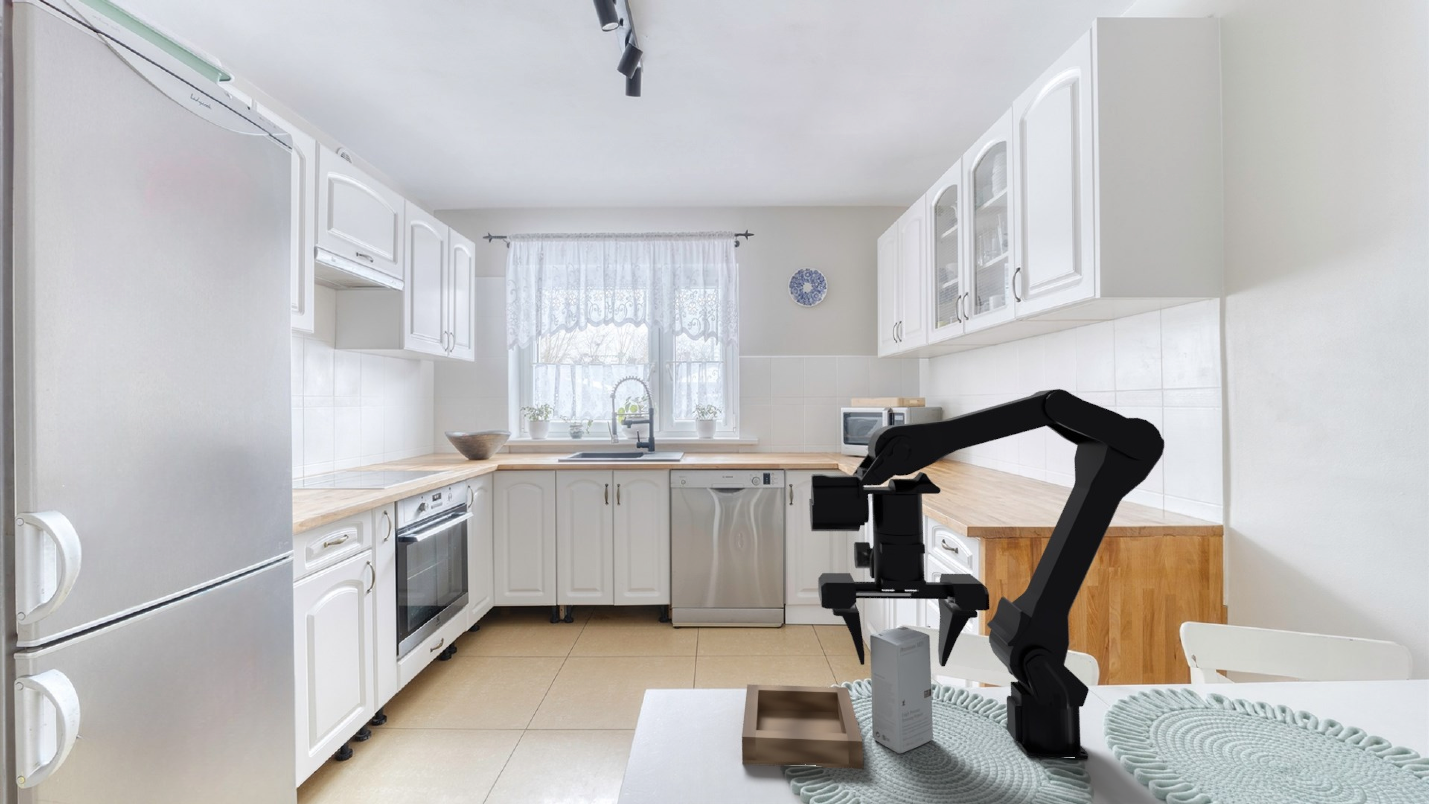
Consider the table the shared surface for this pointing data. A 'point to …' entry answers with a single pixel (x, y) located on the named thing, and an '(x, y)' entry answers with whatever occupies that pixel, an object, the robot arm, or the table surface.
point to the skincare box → (901, 688)
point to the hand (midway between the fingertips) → (901, 664)
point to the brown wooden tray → (801, 727)
